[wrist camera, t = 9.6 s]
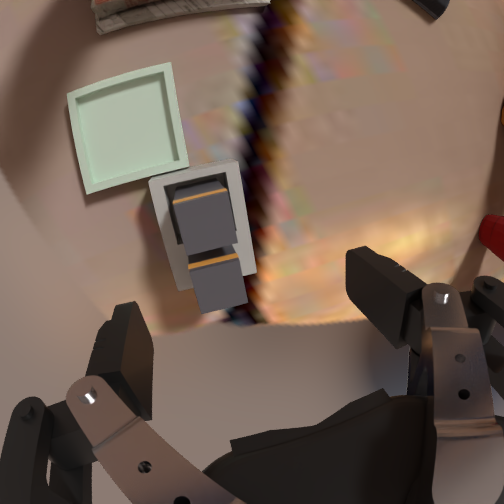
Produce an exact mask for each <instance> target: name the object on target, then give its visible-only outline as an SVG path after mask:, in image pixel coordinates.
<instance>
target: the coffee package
mask: <svg viewBox="0 0 504 504" xmlns="http://www.w3.org/2000/svg"><path fill="white" fill-rule="evenodd" d="M501 122H502V124H503V126H504V106H503V109H502V116H501Z"/></svg>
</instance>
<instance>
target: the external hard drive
mask: <svg viewBox="0 0 504 504" xmlns="http://www.w3.org/2000/svg"><path fill="white" fill-rule="evenodd" d="M413 1H414V2H416V3H417V4H418V5H419V6H420V7H422V8H423V9H424V10H425V11H427V12H428V13H429V14H430V15H431V16H432V17H433V18H435V19H436V20H437V19H438V18H439V17H440V16H441V15H442V14H443V13H444V11H445V10H446V8H447V6H448V4H449V1H450V0H413Z"/></svg>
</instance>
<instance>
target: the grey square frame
mask: <svg viewBox="0 0 504 504" xmlns="http://www.w3.org/2000/svg"><path fill="white" fill-rule="evenodd" d="M212 178H216V179H217V180H218V181H219V182H220V183H221V185H222V186H223V187H224V188H226V189H227V192H228V196H229V201H230V205H231V210H232V215H233V220H234V225H235V230H236V235H237V240H238V243H236V244H232V245H228V246H224V247H220V248H216V249H212V250H208V251H204V252H200V253H196V254H192V255H189V256H187V255H186V251H185V248H184V244H183V240H182V237H181V233H180V229H179V226H178V222H177V218H176V214H175V210H174V206H173V201H174V196H175V189H176V187H179V186H183V185H187V184H191V183H195V182H199V181H204V180H208V179H212ZM148 183H149V187H150V192H151V196H152V200H153V204H154V208H155V212H156V216H157V219H158V223H159V227H160V231H161V234H162V238H163V242H164V245H165V249H166V252H167V256H168V259H169V263H170V266H171V269H172V273H173V276H174V279H175V283H176V286H177V289H178V291H183V290H187V289H191V288H194V290H195V294H196V297H197V301H198V304H199V307H200V311H201V314H204V313H208V312H212V311H217V310H221V309H225V308H229V307H233V306H237V305H241V304H245V303H248V301H247V296H246V291H245V286H244V280H243V276H245V275H249V274H253V273H257V271H256V265H255V259H254V253H253V247H252V241H251V235H250V229H249V224H248V218H247V212H246V206H245V200H244V194H243V188H242V182H241V176H240V171H239V165H238V161H235V160H233V159H226V160H221V161H216V162H211V163H206V164H202V165H197V166H192V167H188V168H184V169H179V170H175V171H171V172H167V173H163V174H159V175H155V176H152V178H151V179H150V180H149V181H148Z"/></svg>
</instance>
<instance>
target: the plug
mask: <svg viewBox="0 0 504 504" xmlns="http://www.w3.org/2000/svg"><path fill="white" fill-rule="evenodd" d="M173 206H174V210H175V214H176V218H177V222H178V226H179V229H180V233H181V237H182V240H183V244H184V248H185V251H186V255H187V256H189V255H192V254H196V253H200V252H204V251H208V250H212V249H216V248H220V247H224V246H228V245H232V244H236V243H238V240H237V235H236V230H235V225H234V220H233V215H232V210H231V205H230V201H229V196H228V192H227V189H226V188H224V187H223V186H222V185H221V183H220V182H219V181H218V180H217V179H216V178H212V179H208V180H204V181H199V182H195V183H191V184H187V185H183V186H179V187H176V189H175V196H174V201H173Z"/></svg>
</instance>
